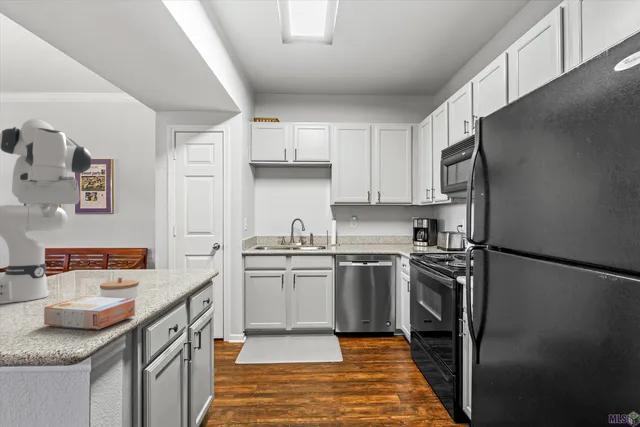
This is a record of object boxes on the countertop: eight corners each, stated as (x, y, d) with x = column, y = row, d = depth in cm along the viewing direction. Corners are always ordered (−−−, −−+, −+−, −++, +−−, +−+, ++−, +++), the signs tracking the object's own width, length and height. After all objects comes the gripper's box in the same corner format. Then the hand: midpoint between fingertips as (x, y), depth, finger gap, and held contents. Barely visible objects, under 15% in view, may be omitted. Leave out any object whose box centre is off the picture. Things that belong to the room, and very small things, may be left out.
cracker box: (43, 326, 98) (98, 330, 93) (43, 306, 98) (98, 309, 94) (85, 312, 112) (136, 316, 107) (85, 295, 112) (135, 298, 107)
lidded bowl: (90, 311, 115) (91, 280, 115) (114, 302, 128) (115, 274, 128) (124, 311, 115) (125, 281, 115) (145, 302, 127) (145, 275, 127)
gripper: (85, 177, 109) (84, 217, 108) (33, 177, 111) (32, 217, 111) (68, 175, 102) (67, 217, 102) (13, 175, 105) (12, 217, 105)
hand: (48, 217), depth 107 cm, fingers closed
